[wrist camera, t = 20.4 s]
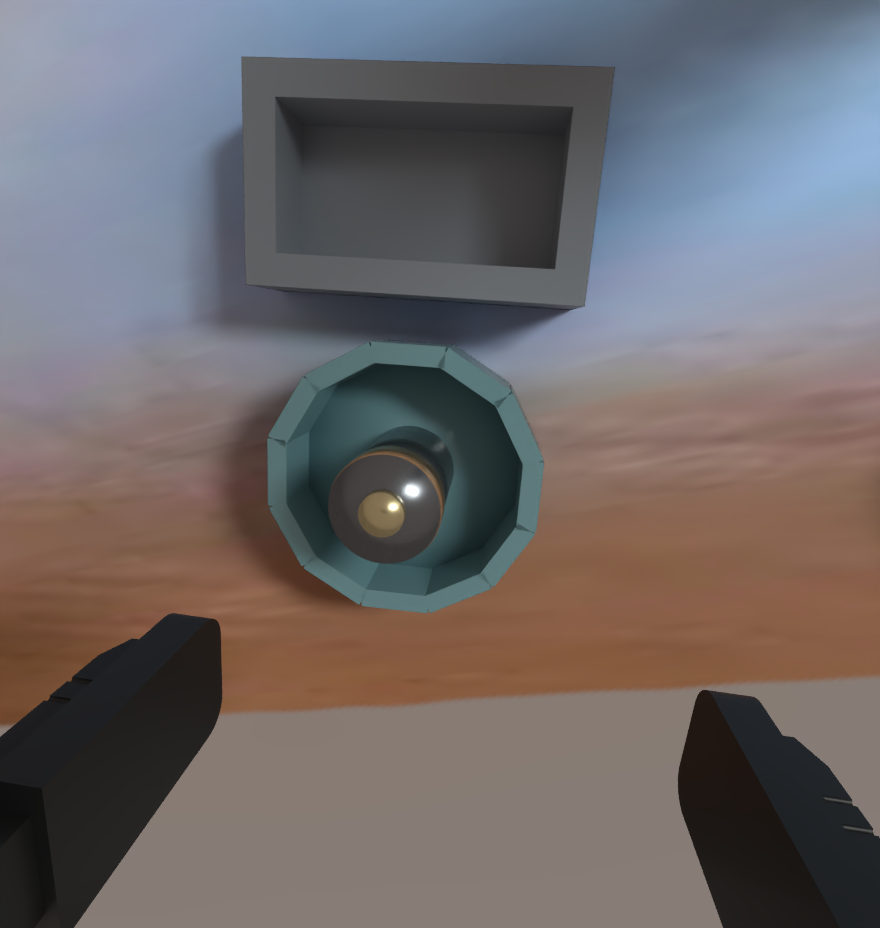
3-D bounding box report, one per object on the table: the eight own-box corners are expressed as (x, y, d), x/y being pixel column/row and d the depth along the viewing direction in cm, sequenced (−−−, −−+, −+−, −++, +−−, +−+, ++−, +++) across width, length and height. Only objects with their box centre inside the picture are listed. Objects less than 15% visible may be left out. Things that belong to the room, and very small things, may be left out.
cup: (298, 333, 31) (266, 333, 27) (548, 351, 30) (556, 354, 26) (297, 562, 34) (268, 595, 30) (521, 586, 33) (525, 624, 29)
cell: (366, 421, 31) (322, 453, 23) (457, 427, 30) (442, 462, 23) (365, 507, 32) (323, 565, 24) (452, 514, 32) (437, 575, 24)
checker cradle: (280, 98, 28) (241, 56, 24) (595, 109, 27) (614, 67, 23) (281, 290, 31) (245, 284, 26) (571, 309, 29) (584, 305, 25)
